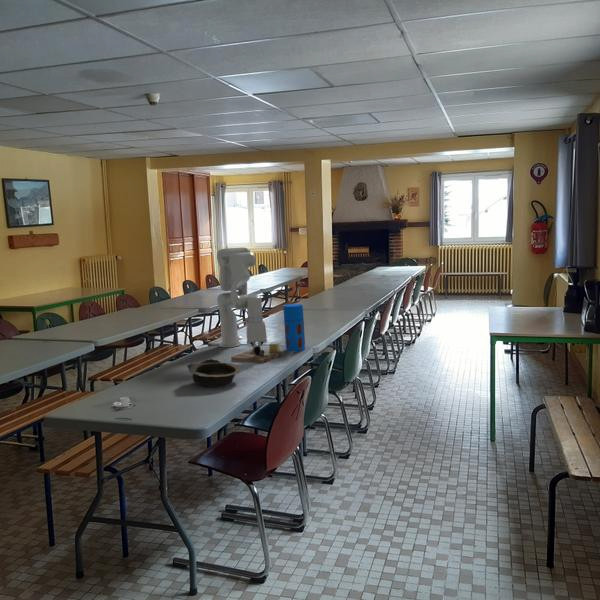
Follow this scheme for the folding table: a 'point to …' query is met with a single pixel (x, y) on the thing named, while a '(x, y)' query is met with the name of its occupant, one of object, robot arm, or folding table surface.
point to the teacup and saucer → (122, 402)
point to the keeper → (274, 347)
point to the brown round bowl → (213, 373)
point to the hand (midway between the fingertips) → (257, 354)
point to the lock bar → (263, 351)
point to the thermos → (294, 327)
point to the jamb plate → (256, 357)
